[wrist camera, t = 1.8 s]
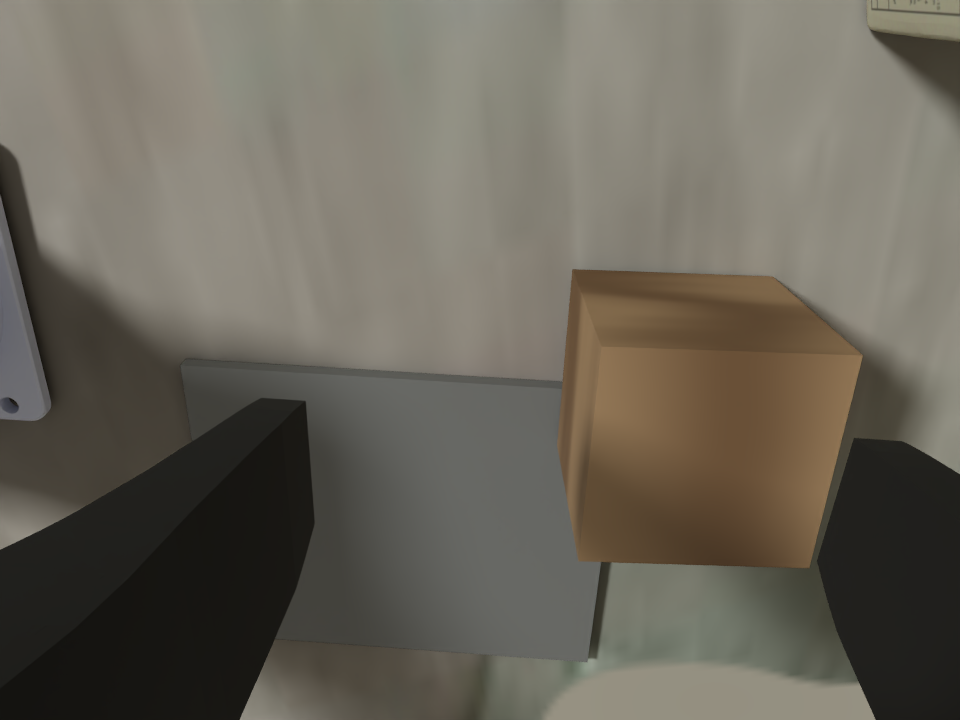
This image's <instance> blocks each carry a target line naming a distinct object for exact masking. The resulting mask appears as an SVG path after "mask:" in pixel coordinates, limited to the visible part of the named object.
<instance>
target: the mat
mask: <svg viewBox="0 0 960 720" xmlns="http://www.w3.org/2000/svg"><path fill="white" fill-rule="evenodd" d="M180 368H181V374H182V381H183V387H184V394H185V400H186V407H187V413H188V419H189V426H190V432H191V439H192V441H194V440H195V439H197V438H198V437H200V436H201V435H203V434H204V433H206V432H207V431H209V430H210V429H212V428H213V427H215V426H217V425H218V424H220V423H221V422H223V421H224V420H226V419H227V418H229V417H230V416H232V415H233V414H235V413H236V412H238V411H240V410H241V409H243V408H244V407H246V406H248V405H249V404H251V403H253V402H255V401H256V400H258V399H260V398H272V399H287V400H301V401H306V410H307V423H308V437H309V451H310V464H311V478H312V491H313V505H314V519H315V524H314V528H313V532H312V535H311V539H310V543H309V547H308V550H307V554H306V558H305V561H304V564H303V568H302V571H301V574H300V578H299V581H298V585H297V588H296V590H295V593H294V595H293V598H292V600H291V602H290V605H289V607H288V609H287V612H286V614H285V616H284V619H283V621H282V623H281V626H280V628H279V630H278V633H277V635H276V637H275V639H282V640H295V641H309V642H322V643H336V644H349V645H362V646H376V647H389V648H403V649H416V650H430V651H443V652H457V653H470V654H484V655H497V656H510V657H524V658H537V659H551V660H564V661H578V662H587V661H588V654H589V647H590V639H591V632H592V625H593V617H594V610H595V603H596V596H597V588H598V581H599V574H600V566H601V562H585V561H578V557H577V551H576V546H575V540H574V535H573V529H572V524H571V519H570V513H569V508H568V502H567V497H566V491H565V486H564V480H563V475H562V470H561V464H560V459H559V453H558V448H557V440H558V429H559V417H560V406H561V395H562V383H563V382H558V381H542V380H525V379H509V378H492V377H476V376H459V375H443V374H427V373H410V372H394V371H377V370H361V369H344V368H328V367H311V366H295V365H278V364H262V363H245V362H229V361H213V360H196V359H185V361H184V362H183V363H182V364H181V365H180Z"/></svg>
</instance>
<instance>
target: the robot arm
mask: <svg viewBox="0 0 960 720" xmlns="http://www.w3.org/2000/svg"><path fill="white" fill-rule="evenodd" d="M9 398H12V399H13V400H14V401H16V402H17V404H18V406H16V405H14V404H13V403H11V402H10V400H9ZM50 408H51V400H50V396H49V391H48V387H47V383H46V379H45V375H44V371H43V367H42V363H41V359H40V355H39V351H38V347H37V343H36V338H35V334H34V330H33V326H32V322H31V318H30V314H29V310H28V306H27V302H26V298H25V294H24V290H23V285H22V281H21V277H20V273H19V269H18V265H17V261H16V257H15V253H14V249H13V245H12V241H11V237H10V232H9V228H8V224H7V220H6V216H5V212H4V208H3V204H2V200H1V196H0V419H8V420H24V421H36V420H39V419H41V418H43V417H44V416H45V415H46V414H47V413H48V412H49V410H50ZM314 524H315V519H314V505H313V491H312V478H311V464H310V451H309V437H308V423H307V410H306V401H301V400H287V399H272V398H260V399H258V400H256V401H255V402H253V403H251V404H249V405H248V406H246V407H244V408H243V409H241V410H240V411H238V412H236V413H235V414H233V415H232V416H230V417H229V418H227V419H226V420H224V421H223V422H221V423H220V424H218V425H217V426H215V427H213V428H212V429H210V430H209V431H207V432H206V433H204V434H203V435H201V436H200V437H198V438H197V439H195V440H194V441H192V442H191V443H189V444H188V445H186V446H184V447H183V448H181V449H180V450H178V451H177V452H175V453H174V454H172V455H170V456H169V457H167V458H166V459H164V460H163V461H161V462H160V463H158V464H157V465H155V466H153V467H152V468H150V469H149V470H147V471H145V472H144V473H142V474H140V475H138V476H137V477H135V478H133V479H132V480H130V481H128V482H126V483H125V484H123V485H121V486H120V487H118V488H116V489H115V490H113V491H111V492H109V493H108V494H106V495H104V496H103V497H101V498H99V499H97V500H96V501H94V502H92V503H91V504H89V505H87V506H86V507H84V508H82V509H80V510H79V511H77V512H75V513H73V514H71V515H69V516H67V517H66V518H64V519H62V520H60V521H58V522H56V523H54V524H52V525H50V526H48V527H46V528H44V529H42V530H41V531H39V532H37V533H34V534H32V535H30V536H28V537H26V538H24V539H22V540H20V541H18V542H16V543H14V544H12V545H9V546H7V547H5V548H3V549H1V550H0V720H240V717H241V715H242V713H243V710H244V708H245V706H246V704H247V701H248V699H249V697H250V694H251V692H252V690H253V688H254V685H255V683H256V681H257V678H258V676H259V674H260V672H261V669H262V667H263V665H264V662H265V660H266V658H267V656H268V653H269V651H270V649H271V647H272V644H273V642H274V640H275V637H276V635H277V633H278V630H279V628H280V626H281V623H282V621H283V619H284V616H285V614H286V612H287V609H288V607H289V605H290V602H291V600H292V598H293V595H294V593H295V590H296V588H297V585H298V581H299V578H300V574H301V571H302V568H303V564H304V561H305V558H306V554H307V550H308V547H309V543H310V539H311V535H312V532H313V528H314ZM817 562H818V566H819V570H820V574H821V578H822V581H823V585H824V589H825V593H826V596H827V600H828V603H829V607H830V610H831V613H832V617H833V620H834V623H835V626H836V630H837V632H838V635H839V637H840V639H841V642H842V644H843V647H844V649H845V651H846V654H847V656H848V658H849V660H850V663H851V665H852V667H853V670H854V672H855V674H856V676H857V679H858V681H859V683H860V686H861V687H862V690H863V692H864V694H865V696H866V699H867V701H868V703H869V706H870V708H871V710H872V712H873V714H874V717H875V719H876V720H960V474H958V473H957V472H955V471H953V470H952V469H950V468H949V467H947V466H945V465H944V464H942V463H941V462H939V461H937V460H936V459H934V458H932V457H931V456H929V455H927V454H925V453H924V452H922V451H920V450H918V449H916V448H914V447H912V446H911V445H909V444H907V443H905V442H902V441H889V440H874V439H860V438H854V440H853V443H852V447H851V450H850V453H849V457H848V460H847V463H846V467H845V470H844V473H843V477H842V480H841V483H840V487H839V490H838V493H837V497H836V500H835V503H834V507H833V510H832V513H831V516H830V520H829V523H828V526H827V530H826V533H825V536H824V540H823V543H822V546H821V550H820V553H819V556H818V560H817Z"/></svg>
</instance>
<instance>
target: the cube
mask: <svg viewBox="0 0 960 720" xmlns="http://www.w3.org/2000/svg"><path fill="white" fill-rule="evenodd" d="M862 358H863V355H862V354H861V353H860V352H858V351H857V350H856V349H855V348H854V347H853V346H852V345H850V344H849V343H848V342H847V341H846V340H845V339H844V338H842V337H841V336H840V335H839V334H838V333H837V332H836V331H834V330H833V329H832V328H831V327H830V326H829V325H828V324H826V323H825V322H824V321H823V320H822V319H821V318H819V317H818V316H817V315H816V314H815V313H814V312H813V311H811V310H810V309H809V308H808V307H807V306H806V305H805V304H803V303H802V302H801V301H800V300H799V299H798V298H797V297H795V296H794V295H793V294H792V293H791V292H790V291H789V290H787V289H786V288H785V287H784V286H783V285H782V284H781V283H779V282H778V281H777V280H776V279H775V278H774V277H769V276H742V275H714V274H686V273H658V272H631V271H603V270H575V269H573V270H572V281H571V293H570V304H569V315H568V327H567V338H566V349H565V361H564V372H563V383H562V395H561V406H560V417H559V429H558V440H557V448H558V453H559V459H560V464H561V470H562V475H563V480H564V486H565V491H566V497H567V502H568V508H569V513H570V519H571V524H572V529H573V535H574V540H575V546H576V551H577V557H578V561H585V562H618V563H652V564H685V565H718V566H752V567H785V568H809V567H810V563H811V559H812V555H813V551H814V547H815V543H816V539H817V535H818V531H819V528H820V524H821V520H822V516H823V512H824V508H825V504H826V500H827V496H828V492H829V488H830V484H831V480H832V476H833V472H834V468H835V464H836V461H837V457H838V453H839V449H840V445H841V441H842V437H843V433H844V429H845V425H846V421H847V417H848V413H849V409H850V405H851V401H852V397H853V393H854V390H855V386H856V382H857V378H858V374H859V370H860V366H861V362H862Z"/></svg>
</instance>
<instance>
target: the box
mask: <svg viewBox="0 0 960 720" xmlns="http://www.w3.org/2000/svg"><path fill="white" fill-rule="evenodd" d="M867 24H868V27H869V28H870V29H871V30H873V31H877V32H884V33H891V34H898V35H906V36H913V37H920V38H930V39H938V40H948V41H957V42H960V0H867Z"/></svg>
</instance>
